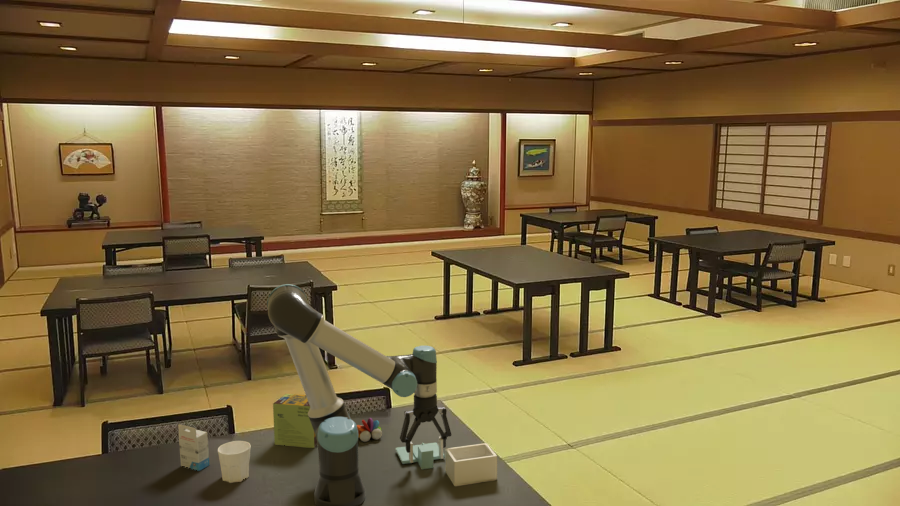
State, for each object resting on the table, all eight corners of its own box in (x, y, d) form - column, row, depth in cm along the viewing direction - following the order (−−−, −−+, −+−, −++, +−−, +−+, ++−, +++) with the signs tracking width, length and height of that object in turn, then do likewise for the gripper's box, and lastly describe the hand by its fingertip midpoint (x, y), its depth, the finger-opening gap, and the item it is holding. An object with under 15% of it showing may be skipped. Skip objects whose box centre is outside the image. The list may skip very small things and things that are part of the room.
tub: (454, 486, 212) (454, 461, 211) (445, 471, 222) (445, 448, 221) (497, 479, 216) (497, 455, 215) (486, 466, 226) (486, 443, 225)
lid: (405, 472, 222) (405, 454, 221) (395, 452, 237) (395, 435, 236) (448, 466, 226) (448, 448, 225) (436, 447, 241) (436, 430, 240)
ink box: (210, 465, 227) (207, 423, 225) (198, 471, 223) (195, 428, 221) (191, 460, 231) (189, 418, 229) (180, 466, 227) (177, 423, 225)
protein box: (314, 448, 240) (313, 406, 238) (274, 445, 243) (272, 403, 241) (326, 436, 250) (324, 395, 248) (286, 433, 253) (285, 393, 251)
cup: (218, 486, 213) (216, 456, 212) (220, 471, 223) (218, 442, 222) (252, 481, 216) (250, 452, 215) (252, 467, 226) (250, 439, 224)
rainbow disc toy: (352, 435, 251) (351, 416, 250) (377, 431, 255) (377, 412, 254) (359, 444, 243) (359, 425, 242) (385, 439, 247) (384, 420, 246)
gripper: (394, 401, 215) (395, 468, 219) (461, 393, 222) (461, 459, 225) (389, 393, 222) (390, 458, 226) (454, 386, 229) (454, 449, 232)
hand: (426, 458), depth 225 cm, fingers open, 9 cm apart
